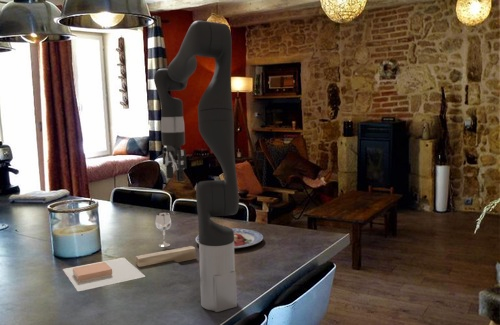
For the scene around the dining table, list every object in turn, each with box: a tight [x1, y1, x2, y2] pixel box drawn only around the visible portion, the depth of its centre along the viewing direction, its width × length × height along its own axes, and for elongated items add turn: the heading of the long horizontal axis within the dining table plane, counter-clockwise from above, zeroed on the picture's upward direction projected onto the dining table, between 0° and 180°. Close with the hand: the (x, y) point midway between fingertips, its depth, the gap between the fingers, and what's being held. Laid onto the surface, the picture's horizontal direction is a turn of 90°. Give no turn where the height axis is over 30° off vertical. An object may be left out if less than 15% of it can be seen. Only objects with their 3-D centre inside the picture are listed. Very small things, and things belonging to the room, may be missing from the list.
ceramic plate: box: [195, 227, 264, 250], centre depth 182 cm, size 26×26×3 cm
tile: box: [73, 262, 112, 282], centre depth 147 cm, size 8×2×10 cm
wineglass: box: [155, 212, 172, 248], centre depth 179 cm, size 6×6×12 cm
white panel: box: [62, 256, 146, 292], centre depth 149 cm, size 22×20×1 cm
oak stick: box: [135, 245, 197, 268], centre depth 160 cm, size 3×20×4 cm, turn 120°
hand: (175, 179), depth 157 cm, fingers open, 8 cm apart
